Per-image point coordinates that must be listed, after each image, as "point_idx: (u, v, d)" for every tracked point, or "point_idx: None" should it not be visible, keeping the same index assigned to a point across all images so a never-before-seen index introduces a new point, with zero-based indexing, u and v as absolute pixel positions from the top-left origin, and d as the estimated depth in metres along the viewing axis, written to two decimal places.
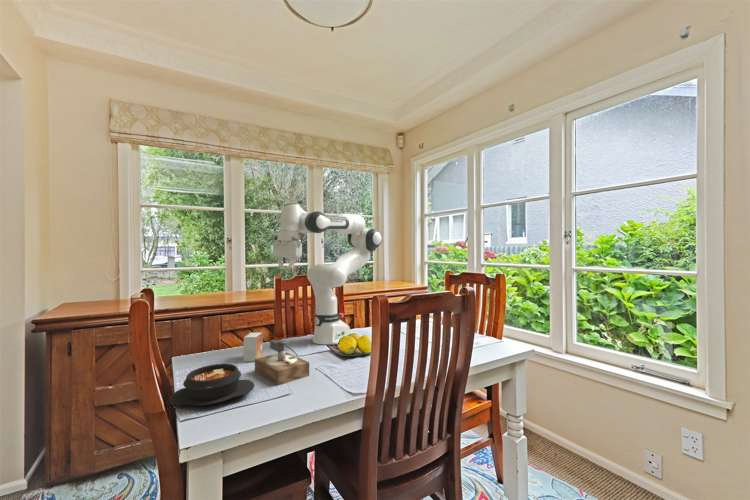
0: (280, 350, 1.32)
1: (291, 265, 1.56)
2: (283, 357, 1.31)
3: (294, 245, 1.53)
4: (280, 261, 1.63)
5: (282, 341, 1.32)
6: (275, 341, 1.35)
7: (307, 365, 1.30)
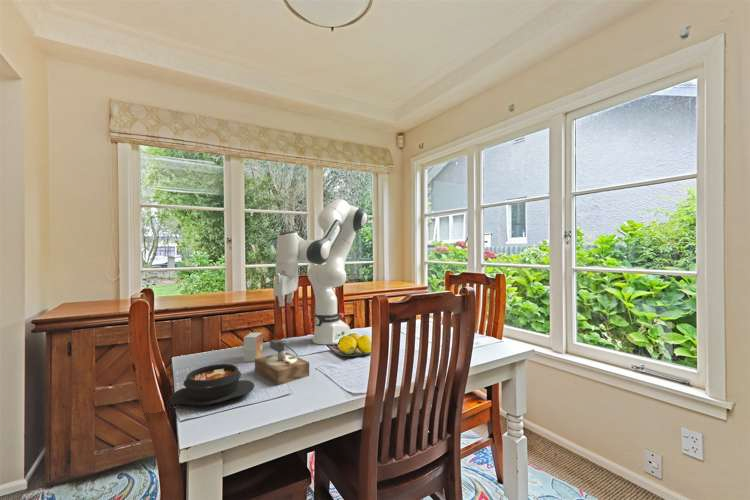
0: (280, 350, 1.32)
1: (280, 303, 1.35)
2: (283, 357, 1.31)
3: None
4: (289, 296, 1.46)
5: (282, 341, 1.32)
6: (275, 341, 1.35)
7: (307, 365, 1.30)
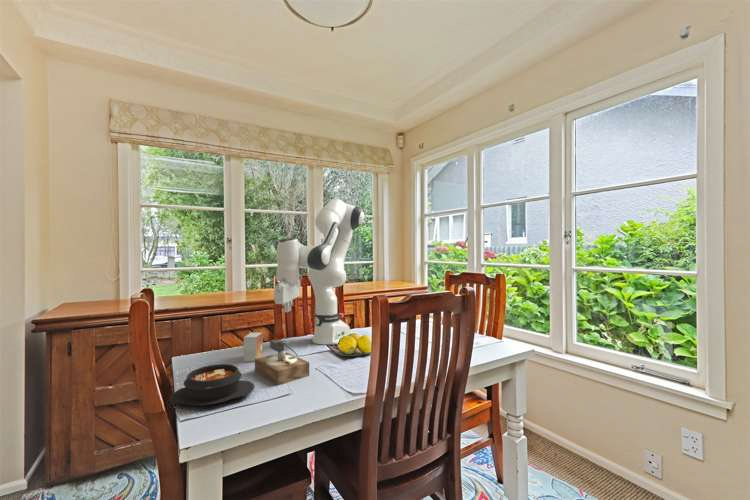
0: (280, 350, 1.32)
1: (285, 309, 1.38)
2: (283, 357, 1.31)
3: None
4: (288, 304, 1.41)
5: (282, 341, 1.32)
6: (275, 341, 1.35)
7: (307, 365, 1.30)
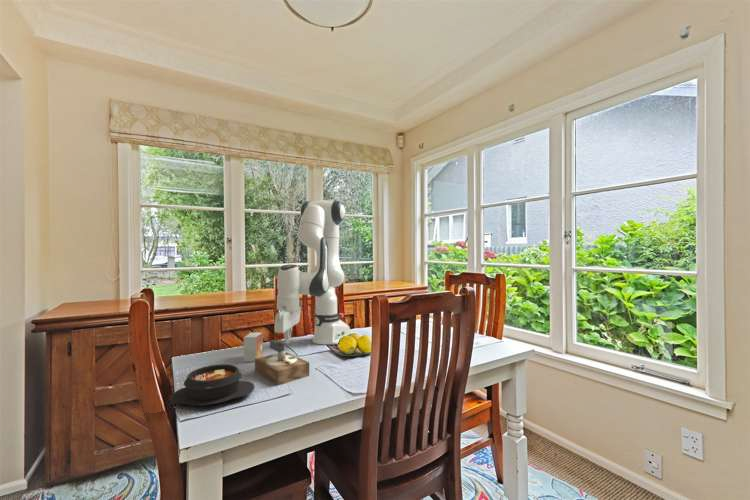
0: (280, 350, 1.32)
1: (285, 337, 1.38)
2: (283, 357, 1.31)
3: None
4: None
5: (282, 341, 1.32)
6: (275, 341, 1.35)
7: (307, 365, 1.30)
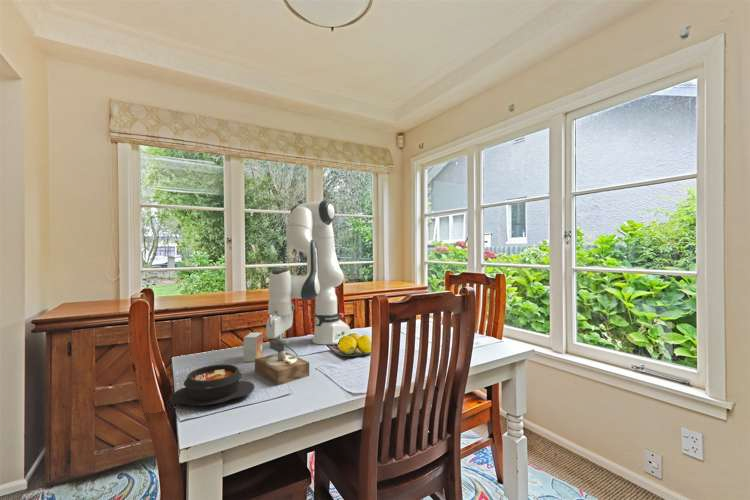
0: (280, 350, 1.32)
1: None
2: (283, 357, 1.31)
3: None
4: (280, 336, 1.39)
5: (282, 341, 1.32)
6: (275, 341, 1.35)
7: (307, 365, 1.30)
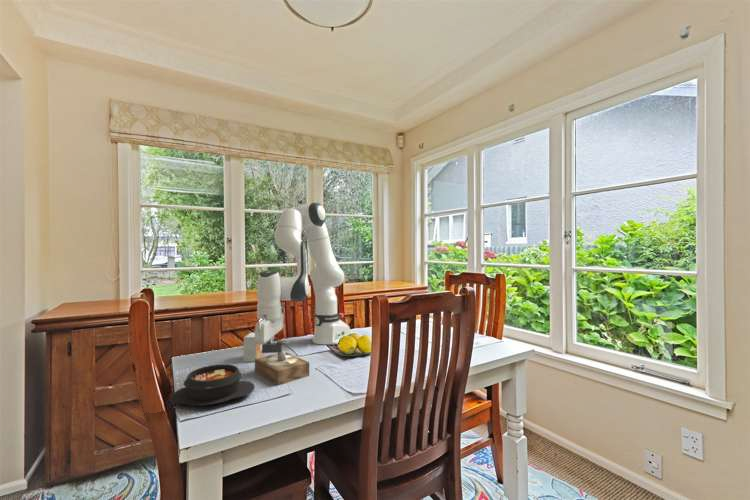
0: (281, 350, 1.32)
1: None
2: None
3: None
4: None
5: (281, 341, 1.32)
6: (269, 344, 1.31)
7: (307, 365, 1.30)
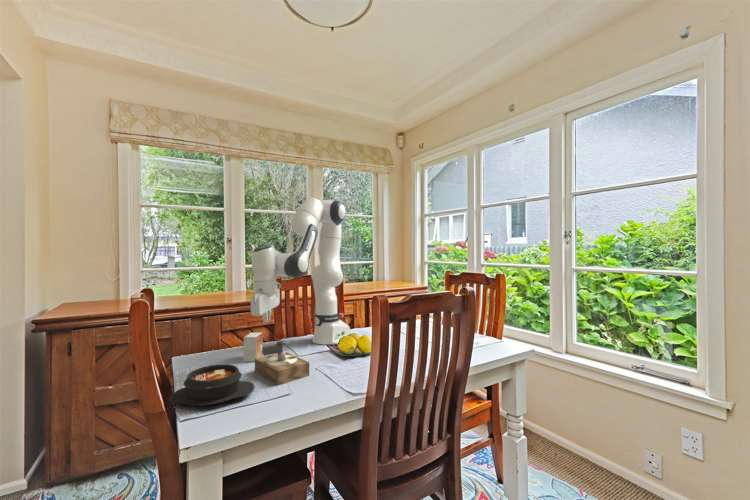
0: None
1: (264, 320, 1.35)
2: None
3: None
4: (267, 314, 1.37)
5: (281, 341, 1.32)
6: (270, 345, 1.29)
7: (307, 365, 1.30)
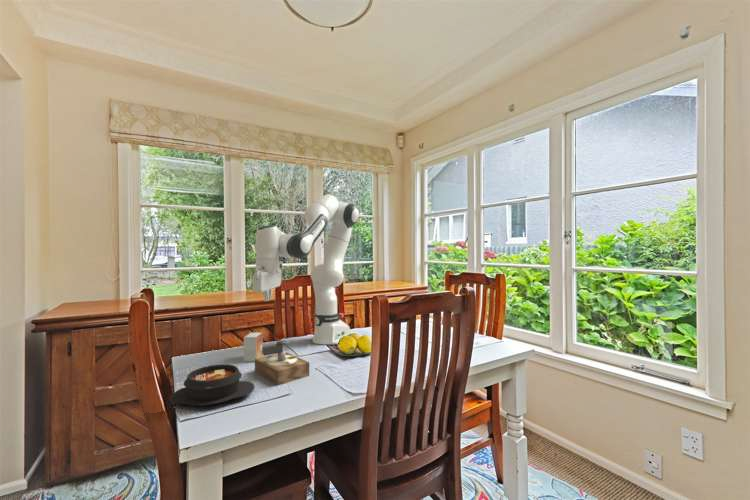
0: None
1: (265, 298, 1.36)
2: None
3: None
4: (268, 293, 1.38)
5: (281, 341, 1.32)
6: (270, 345, 1.29)
7: (307, 365, 1.30)
